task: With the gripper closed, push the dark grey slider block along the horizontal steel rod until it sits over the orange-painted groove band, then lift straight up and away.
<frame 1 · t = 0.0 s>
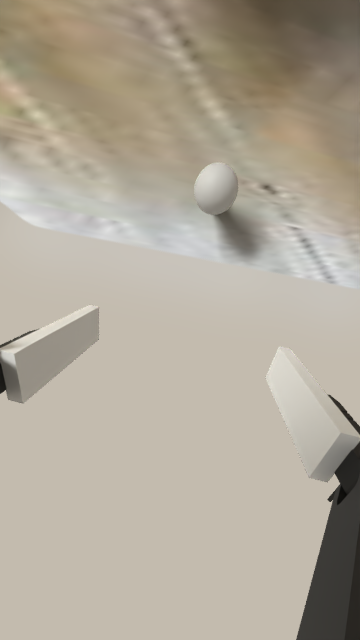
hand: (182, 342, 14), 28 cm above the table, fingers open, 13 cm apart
lightbulb: (214, 202, 35), on the table
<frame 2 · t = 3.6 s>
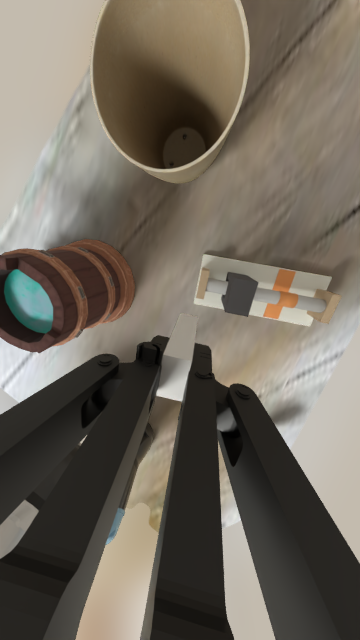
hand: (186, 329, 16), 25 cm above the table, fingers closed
plant pot: (184, 155, 33), on the table
dark grey slider block: (236, 292, 33), point 6 cm above the table, slide at -5.0 cm
mug: (86, 281, 43), on the table
rail: (256, 290, 38), on the table
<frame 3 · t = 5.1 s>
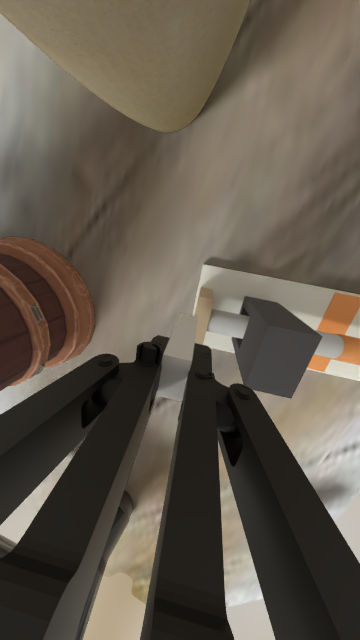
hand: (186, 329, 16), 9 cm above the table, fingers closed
plant pot: (168, 80, 17), on the table
dark grey slider block: (263, 338, 18), point 6 cm above the table, slide at -5.0 cm
mug: (21, 301, 28), on the table
rail: (290, 324, 23), on the table
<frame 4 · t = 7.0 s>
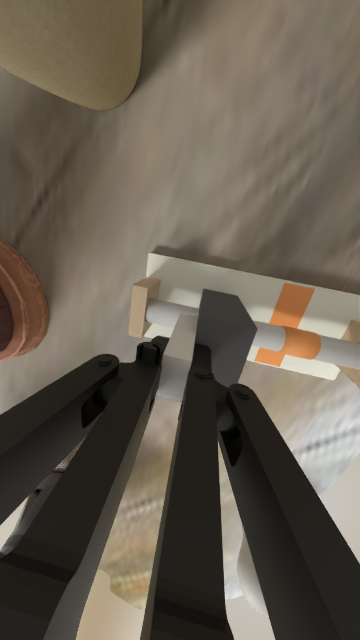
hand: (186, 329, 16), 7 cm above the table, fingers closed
plant pot: (99, 54, 16), on the table
dark grey slider block: (215, 332, 17), point 6 cm above the table, slide at -3.7 cm, touching gripper
lightbulb: (248, 504, 35), on the table
rail: (244, 317, 22), on the table
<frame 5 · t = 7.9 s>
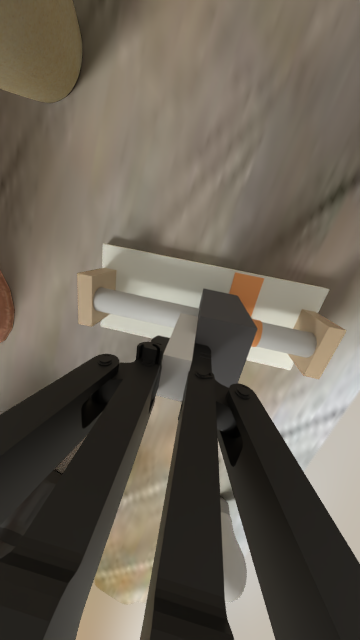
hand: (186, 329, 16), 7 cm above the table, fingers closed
plant pot: (43, 46, 17), on the table
dark grey slider block: (215, 332, 17), point 6 cm above the table, slide at 1.4 cm, touching gripper
lightbulb: (220, 497, 35), on the table
rail: (201, 307, 23), on the table
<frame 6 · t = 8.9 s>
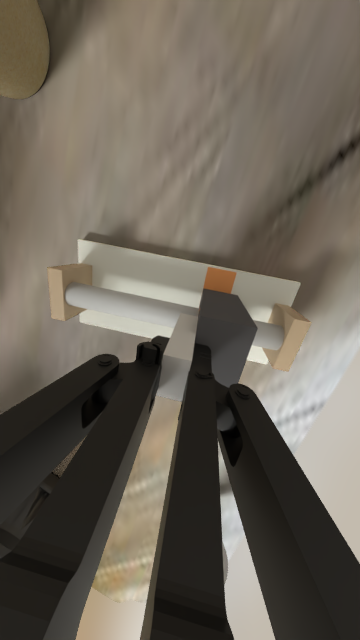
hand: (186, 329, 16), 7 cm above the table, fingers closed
plant pot: (12, 43, 17), on the table
dark grey slider block: (215, 332, 17), point 6 cm above the table, slide at 4.3 cm, touching gripper
rail: (178, 302, 23), on the table
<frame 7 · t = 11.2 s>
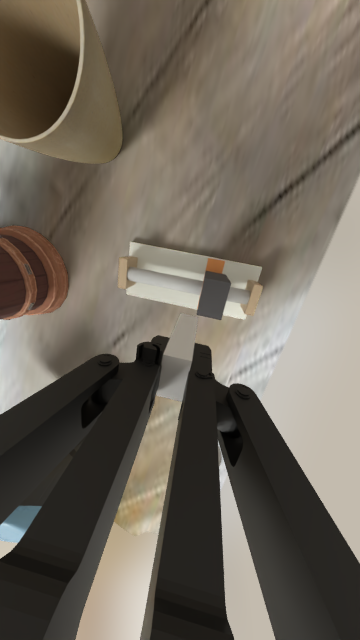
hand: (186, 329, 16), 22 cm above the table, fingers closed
plant pot: (100, 134, 31), on the table
dark grey slider block: (212, 292, 31), point 6 cm above the table, slide at 4.3 cm
mug: (20, 270, 41), on the table
rail: (189, 280, 37), on the table
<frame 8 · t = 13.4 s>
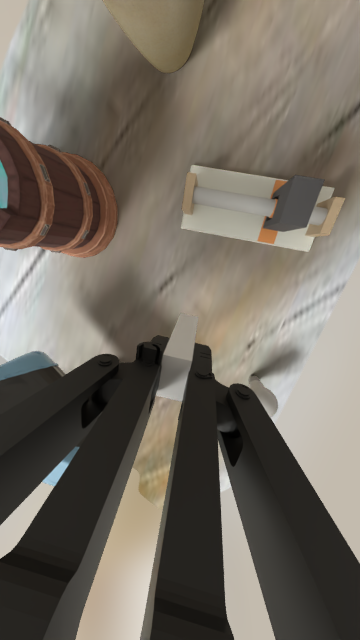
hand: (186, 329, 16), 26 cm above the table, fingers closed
plant pot: (169, 39, 29), on the table
dark grey slider block: (288, 208, 29), point 6 cm above the table, slide at 4.3 cm
mug: (65, 207, 39), on the table
lightbulb: (252, 377, 47), on the table
rail: (250, 210, 35), on the table
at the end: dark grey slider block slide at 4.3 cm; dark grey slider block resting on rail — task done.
